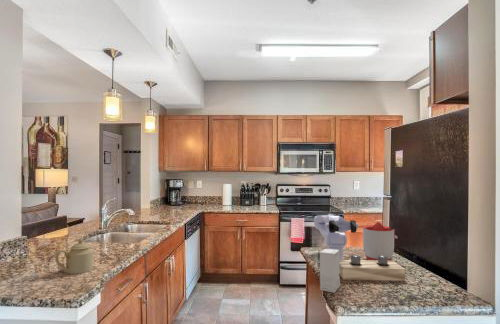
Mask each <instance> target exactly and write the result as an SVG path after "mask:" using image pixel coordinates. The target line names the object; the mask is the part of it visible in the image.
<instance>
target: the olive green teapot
mask: <svg viewBox="0 0 500 324" xmlns="http://www.w3.org/2000/svg"><path fill="white" fill-rule="evenodd" d="M83 241H84V240H83V238H82V237H79V238H78V240H77V242H78V243H76V244H73V245H72V246H71V247H69V251H68V252H67V250H65V249H60V250H58V251H57V252H56V253H55V256H54V259H55V260H54V261H55V262H56V265H58V267H60V268H62V269H64V270H65V272H66V274H69V275H79V274H80V275H81V274H85V272H86V273H89V272H91V271H93V269H94V250H93V249H91V245H89V244H88V243H84V242H83ZM61 253H64V255H65V265H63V264H61V263H60V260H59V257H60V254H61ZM90 270H91V271H90ZM88 271H89V272H88Z"/></svg>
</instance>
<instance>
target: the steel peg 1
mask: <svg viewBox="0 0 500 324" xmlns="http://www.w3.org/2000/svg"><path fill="white" fill-rule="evenodd" d="M350 260H351V265H352V266H360V260H361V255H358V254H351V255H350Z"/></svg>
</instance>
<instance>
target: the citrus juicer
mask: <svg viewBox="0 0 500 324" xmlns="http://www.w3.org/2000/svg"><path fill="white" fill-rule="evenodd" d="M398 238H399V237H398V236H397V235H396V229H395V228H394V229H391V227H390V226H387V225H386V226H385V225H383V224H382V223H381V222H380V221H377V222H376V223H374V224H371V225H370V224H368V225H363V226H362V247H363V252H364V256H365V260H378V255H384V256H387V257H388V261H392V259H393V256H394V250H395V239H398Z"/></svg>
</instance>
